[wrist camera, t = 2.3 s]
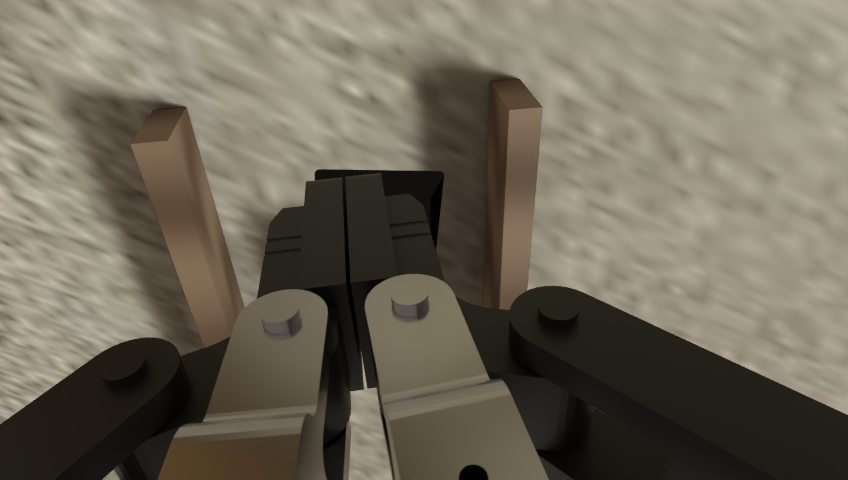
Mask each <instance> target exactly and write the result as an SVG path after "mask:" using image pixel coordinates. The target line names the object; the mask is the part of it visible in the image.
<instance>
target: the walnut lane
mask: <svg viewBox="0 0 848 480" xmlns="http://www.w3.org/2000/svg"><path fill="white" fill-rule="evenodd" d="M542 109H543V107H542V106H541V105H540V103H539V102H538V101H537V100H536V98H535V97H534V96H533V95H532V94H531V92H530V91H529V90H528V89H527V87H526V86H525V85H524V84H523V82H522V81H521V80H520V79H513V80H501V81H490V91H489V126H488V162H487V197H486V233H485V268H484V303H483V307H486V308H495V309H505V310H510V307H511V305H512V303H513V301H514V300H515V299H516V298H517V297H518V296H519V295H521V294H522V293H524V292H526V291H527V286H528V274H529V262H530V251H531V239H532V227H533V215H534V203H535V192H536V180H537V168H538V156H539V144H540V133H541V121H542ZM130 145H131V148H132V150H133V153H134V156H135V159H136V161H137V164H138V167H139V170H140V172H141V175H142V178H143V181H144V183H145V186H146V189H147V192H148V194H149V197H150V200H151V203H152V205H153V208H154V211H155V214H156V216H157V219H158V222H159V225H160V227H161V230H162V233H163V236H164V238H165V241H166V244H167V247H168V249H169V252H170V255H171V258H172V260H173V263H174V266H175V269H176V271H177V274H178V277H179V280H180V282H181V285H182V288H183V291H184V293H185V296H186V299H187V302H188V304H189V307H190V310H191V313H192V315H193V318H194V321H195V324H196V326H197V329H198V332H199V335H200V337H201V340H202V343H203V346H204V348H205V347H208V346H211V345H213V344H216V343H218V342H220V341H222V340H224V339H226V338H228V337H230V336H231V334H232V331H233V327H234V324H235V321H236V319H237V317H238V315H239V314H240V313H241V311H242V310H243V309H244V308H245V307H244V304H243V300H242V297H241V293H240V290H239V287H238V283H237V280H236V276H235V273H234V269H233V266H232V262H231V259H230V256H229V252H228V249H227V245H226V242H225V238H224V235H223V231H222V228H221V225H220V221H219V218H218V214H217V211H216V207H215V204H214V200H213V197H212V194H211V190H210V187H209V183H208V180H207V176H206V173H205V169H204V166H203V163H202V159H201V156H200V152H199V149H198V145H197V142H196V138H195V135H194V132H193V128H192V125H191V121H190V118H189V114H188V111H187V107H182V108H170V109H158V110H153V111H152V113H151V114H150V116H149V117H148V119H147V120H146V121H145V123H144V124H143V126H142V127H141V129H140V130H139V132H138V133H137V135H136V136H135V138H134V139H133V141H132V142H131V144H130Z"/></svg>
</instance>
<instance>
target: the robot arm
mask: <svg viewBox="0 0 848 480" xmlns="http://www.w3.org/2000/svg"><path fill="white" fill-rule="evenodd" d="M345 180H346V194H345V187H344V181H343V178H333V179H324V180H315V181H307V182H306V189H305V202H304V206H300V207H291V208H283V209H282V210H281V211H280V212H279V213H278V215H277V216H276V217H275V218H274V219H273V220H272V221H271V223H270V225H269V231H268V237H267V243H266V248H265V256H264V260H263V266H262V272H261V278H260V284H259V290H258V296H257V299H256V300H254V301H253V302H251V303H250V304H249V305H247V306H246V307H245V308H244V309H243V310H242V311H241V313H240V314H239V315H238V317H237V319H236V321H235V324H234V327H233V331H232V334H231V336H230V337H228V338H226V339H224V340H222V341H220V342H218V343H216V344H213V345H211V346H208V347H205V348H203V349H200V350H197V351H194V352H192V353H189V354H186V355H183V356H180V354H179V352H178V350H177V348H176V347H175V346H174V345H173V344H172V343H170V342H169V341H166V340H163V339H159V338H139V339H134V340H129V341H126V342H123V343H120V344H118V345H115V346H113V347H111V348H109V349H107V350H105V351H103V352H102V353H100V354H99V355H97V356H95V357H94V358H93V359H91V360H90V361H88V362H87V363H86V364H84V365H83V366H81V367H80V368H79V369H77V370H76V371H74V372H73V373H72V374H70V375H69V376H67V377H66V378H65V379H63V380H62V381H60V382H59V383H58V384H56V385H55V386H53V387H52V388H51V389H49V390H48V391H46V392H45V393H44V394H42V395H41V396H39V397H38V398H37V399H35V400H34V401H32V402H31V403H30V404H28V405H27V406H25V407H24V408H23V409H21V410H20V411H18V412H17V413H16V414H14V415H13V416H11V417H10V418H9V419H7V420H6V421H4V422H3V423H2V424H0V480H102V479H103V478H104V477H105V476H106V475H108V474H109V473H110V472H111V471H112V470H113V469H114V470H115V472H116V474H117V475H118V477H119V479H120V480H349V463H350V444H351V426H350V421H349V418H350V414H351V398H350V391H356V390H363V389H364V386H363V370H362V357H363V363H364V370H365V376H366V382H367V388H375V387H377V393H378V400H379V406H380V414H381V420H382V427H383V433H384V438H385V443H386V449H387V454H388V459H389V465H390V470H391V475H392V480H848V415H846V414H844V413H842V412H840V411H838V410H835V409H833V408H831V407H829V406H827V405H825V404H822V403H820V402H818V401H816V400H814V399H812V398H809V397H807V396H805V395H803V394H801V393H799V392H797V391H794V390H792V389H790V388H788V387H786V386H784V385H781V384H779V383H777V382H775V381H773V380H771V379H769V378H766V377H764V376H762V375H760V374H758V373H756V372H753V371H751V370H749V369H747V368H745V367H743V366H740V365H738V364H736V363H734V362H732V361H730V360H728V359H725V358H723V357H721V356H719V355H717V354H715V353H712V352H710V351H708V350H706V349H704V348H702V347H699V346H697V345H695V344H693V343H691V342H689V341H687V340H684V339H682V338H680V337H678V336H676V335H674V334H671V333H669V332H667V331H665V330H663V329H661V328H658V327H656V326H654V325H652V324H650V323H648V322H646V321H643V320H641V319H639V318H637V317H635V316H633V315H630V314H628V313H626V312H624V311H622V310H620V309H617V308H615V307H613V306H611V305H609V304H607V303H605V302H602V301H600V300H598V299H596V298H594V297H592V296H589V295H587V294H585V293H583V292H580V291H578V290H575V289H571V288H568V287H561V286H543V287H537V288H534V289H530V290H528V291H526V292H524V293H522V294H521V295H519V296H518V297H517V298H516V299H515V300H514V301H513V303H512V305H511V307H510V310H505V309H495V308H486V307H480V306H476V305H472V304H470V303H467V302H465V301H463V300H461V299H459V298H458V297H456V296H455V295H454V293H453V291H452V289H451V288H450V287H449V286H448V285H447V284H446V283H445V282H444V279H443V276H442V272H441V268H440V265H439V261H438V257H437V254H436V250H435V246H434V243H433V239H432V235H431V232H430V228H429V224H428V222H427V217H426V213H425V210H424V206H423V205H422V204H421V203H420V202H419V201H418V200H416V199H415V198H414V197H413V196H412V195H411V194H402V195H394V196H385V195H384V189H383V183H382V177H381V173H376V174H367V175H358V176H350V177H345ZM361 351H362V354H361ZM594 407H595V408H594ZM597 409H598V410H597ZM599 410H600V411H599ZM602 412H603V413H602ZM604 413H605V414H604ZM607 415H608V416H607ZM609 416H610V417H609ZM614 419H615V420H614ZM619 422H620V423H619ZM621 423H622V424H621ZM624 425H625V426H624ZM626 426H627V427H626ZM629 428H630V429H629ZM631 429H632V430H631ZM634 431H635V432H634ZM636 432H637V433H636ZM641 435H642V436H641ZM646 438H647V439H646ZM648 439H649V440H648ZM651 441H652V442H651Z"/></svg>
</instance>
